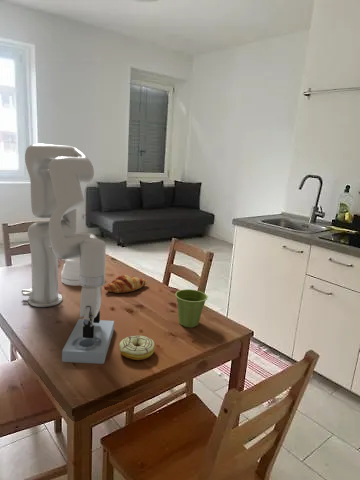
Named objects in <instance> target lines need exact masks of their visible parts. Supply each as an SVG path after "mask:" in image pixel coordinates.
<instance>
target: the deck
mask: <svg viewBox="0 0 360 480" xmlns="http://www.w3.org/2000/svg"><path fill="white" fill-rule="evenodd" d="M83 321H84V318H79V319H78V320H77V322H76V324H75V326H74V328H73V329H72V331H71V333H70V335H69V337H68V339H67V341H66V342H65V345H64V346H63V348H62V350H61V361H62V363H78V364H79V363H81V364H82V363H83V364H98V365H99V364H100V365H102V364H103V365H104V364H105V361H106V358H107V354H108V351H109V348H110V344H111V342H112V341H111V340H112V338H113V335H114V331H115V320H107V319H106V320H104V319H103V320H102V319H100V322H99V323H93V325H94V337H93V338H83ZM89 321H90V319H89Z"/></svg>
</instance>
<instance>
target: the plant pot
mask: <svg viewBox="0 0 360 480" xmlns="http://www.w3.org/2000/svg"><path fill="white" fill-rule="evenodd" d="M174 297H176V302H177V310H178V313H177V314H178V322H179V323H178V324H179V325H181V326H183V327H184V328H195V327H197V326H199V323H200V321H201V320H200V319H201V316H202V314H203V313H202V312H203V309H204V306H205V304H206V301H207V300H208V298H209V296H208V294H206V293H204V291H203V292H202V291H200V290H197V289H190V288H189V289H188V288H187V289H179V290H177V291H176V292H175V296H174Z"/></svg>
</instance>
